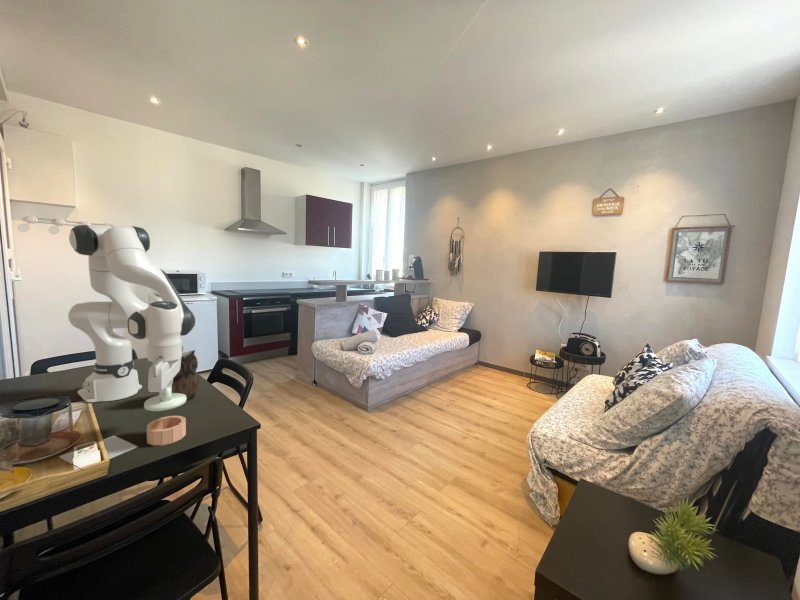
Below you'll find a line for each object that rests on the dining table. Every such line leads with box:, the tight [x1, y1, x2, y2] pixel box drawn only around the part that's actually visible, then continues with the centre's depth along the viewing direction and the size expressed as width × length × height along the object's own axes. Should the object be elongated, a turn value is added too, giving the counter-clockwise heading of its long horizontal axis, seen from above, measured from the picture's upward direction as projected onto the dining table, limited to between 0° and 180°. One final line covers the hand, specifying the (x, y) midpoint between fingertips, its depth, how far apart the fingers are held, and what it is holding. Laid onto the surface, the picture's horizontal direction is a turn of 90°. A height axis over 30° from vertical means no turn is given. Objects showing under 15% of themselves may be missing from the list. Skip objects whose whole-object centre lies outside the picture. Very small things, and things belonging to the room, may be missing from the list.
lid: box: [143, 386, 186, 412], centre depth 103 cm, size 11×11×5 cm
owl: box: [172, 349, 200, 403], centre depth 131 cm, size 13×13×20 cm
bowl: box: [146, 415, 187, 446], centre depth 104 cm, size 10×10×5 cm
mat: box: [58, 435, 139, 465], centre depth 95 cm, size 13×13×1 cm
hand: (165, 394), depth 103 cm, fingers closed on lid, 3 cm apart
